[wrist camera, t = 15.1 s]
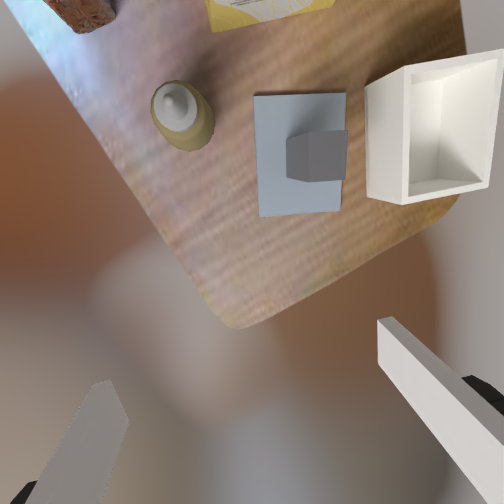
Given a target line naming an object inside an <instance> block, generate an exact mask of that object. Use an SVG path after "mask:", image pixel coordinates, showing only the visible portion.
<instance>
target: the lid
mask: <svg viewBox="0 0 504 504" xmlns="http://www.w3.org/2000/svg"><path fill="white" fill-rule="evenodd" d="M345 107H346V93H323V94H299V95H275V96H253V111H254V131H255V150H256V170H257V190H258V209H259V217H266V216H278V215H291V214H303V213H315V212H327V211H339V210H340V204H341V184H342V180H345V176H346V158H347V140H348V130H344V126H345Z"/></svg>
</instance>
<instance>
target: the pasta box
mask: <svg viewBox="0 0 504 504" xmlns="http://www.w3.org/2000/svg"><path fill="white" fill-rule="evenodd" d="M335 1H336V0H205V5H206V9H207V13H208V18H209V22H210V27H211V31H212V33H216V32H221V31H225V30H230V29H234V28H239V27H243V26H247V25H252V24H256V23H261V22H265V21H270V20H274V19H279V18H283V17H288V16H292V15H296V14H301V13H305V12H310V11H314V10H319V9H323V8H328V7H332V5H333V4H334V2H335Z"/></svg>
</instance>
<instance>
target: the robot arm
mask: <svg viewBox="0 0 504 504" xmlns="http://www.w3.org/2000/svg"><path fill="white" fill-rule="evenodd" d="M378 364H379V365H380V367H381V368H382V369H383V370H384V372H385V373H386V374H387V376H388V377H389V378H390V379H391V381H392V382H393V383H394V384H395V386H396V387H397V388H398V390H399V391H400V392H401V393H402V395H403V396H404V397H405V398H406V400H407V401H408V402H409V404H410V405H411V406H412V407H413V409H414V410H415V411H416V412H417V413H418V415H419V416H420V417H421V419H422V420H423V421H424V423H425V424H426V425H427V427H428V428H429V429H430V430H431V432H432V433H433V434H434V435H435V437H436V438H437V439H438V441H440V443H441V444H442V446H443V447H444V448H445V449H446V451H447V452H448V453H449V454H450V456H451V457H452V458H453V460H454V461H455V462H456V463H457V465H458V466H459V467H460V468H461V470H462V471H463V472H464V474H465V475H466V476H467V477H468V479H469V480H470V481H471V483H472V484H473V485H474V486H475V487H476V489H477V490H478V491H479V493H480V494H481V495H482V497H483V498H484V499H485V500H486V502H487V503H488V504H504V396H503V395H502V394H501V393H500V392H498V391H497V390H496V389H495V388H494V387H492V386H491V385H490V384H488V383H486V382H484V381H482V380H480V379H479V378H476V377H475V376H473V375H471V376H467V377H463V378H460V377H459V376H458V375H457V374H456V373H455V372H453V371H452V370H451V369H450V368H449V367H448V366H447V365H446V364H445V363H443V362H442V361H441V360H440V359H439V358H438V357H437V356H436V355H435V354H433V353H432V352H431V351H430V350H429V349H428V348H427V347H426V346H425V345H423V344H422V343H421V342H420V341H419V340H418V339H417V338H416V337H415V336H413V335H412V334H411V333H410V332H409V331H408V330H407V329H406V328H405V327H403V326H402V325H401V324H400V323H399V322H398V321H397V320H396V319H394V318H393V317H388V318H383V319H379V320H378ZM128 424H129V420H128V417H127V415H126V414H125V411H124V409H123V407H122V405H121V403H120V400H119V398H118V396H117V394H116V392H115V390H114V388H113V385H112V383H111V381H110V380H107V381H103V382H99V383H94V384H93V385H92V387H91V389H90V391H89V392H88V394H87V396H86V398H85V399H84V401H83V403H82V404H81V406H80V408H79V410H78V411H77V413H76V415H75V417H74V419H73V420H72V422H71V424H70V426H69V427H68V429H67V431H66V433H65V435H64V436H63V438H62V439H61V441H60V443H59V445H58V447H57V448H56V450H55V452H54V454H53V455H52V457H51V459H50V460H49V462H48V464H47V466H46V468H45V469H44V471H43V473H42V474H41V476H40V478H39V480H37V481H33V482H29V483H27V485H26V486H25V487H24V488H23V489H22V490H21V491H20V492H19V494H18V495H17V496H16V497H15V498H14V499H13V500H12V502H11V503H10V504H101V501H102V498H103V495H104V493H105V490H106V487H107V484H108V481H109V478H110V475H111V473H112V470H113V467H114V464H115V461H116V458H117V455H118V453H119V450H120V447H121V444H122V441H123V438H124V436H125V433H126V430H127V427H128Z"/></svg>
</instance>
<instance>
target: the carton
mask: <svg viewBox="0 0 504 504" xmlns="http://www.w3.org/2000/svg"><path fill="white" fill-rule="evenodd" d="M503 69H504V49H499V50H493V51H487V52H481V53H475V54H470V55H464V56H458V57H453V58H447V59H441V60H435V61H430V62H424V63H418V64H413V65H407V66H403V67H401V68H399V69H398V70H396V71H394V72H392V73H390V74H388V75H386V76H384V77H382V78H380V79H378V80H376V81H375V82H373V83H371V84H369V85H367V86H365V87H364V107H365V146H366V184H367V197H370V198H374V199H379V200H383V201H387V202H391V203H396V204H400V205H404V204H409V203H414V202H419V201H424V200H429V199H433V198H438V197H443V196H448V195H453V194H458V193H463V192H468V191H473V190H477V189H482V188H488V186H489V178H490V170H491V163H492V155H493V147H494V140H495V132H496V124H497V116H498V109H499V101H500V93H501V85H502V77H503Z"/></svg>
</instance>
